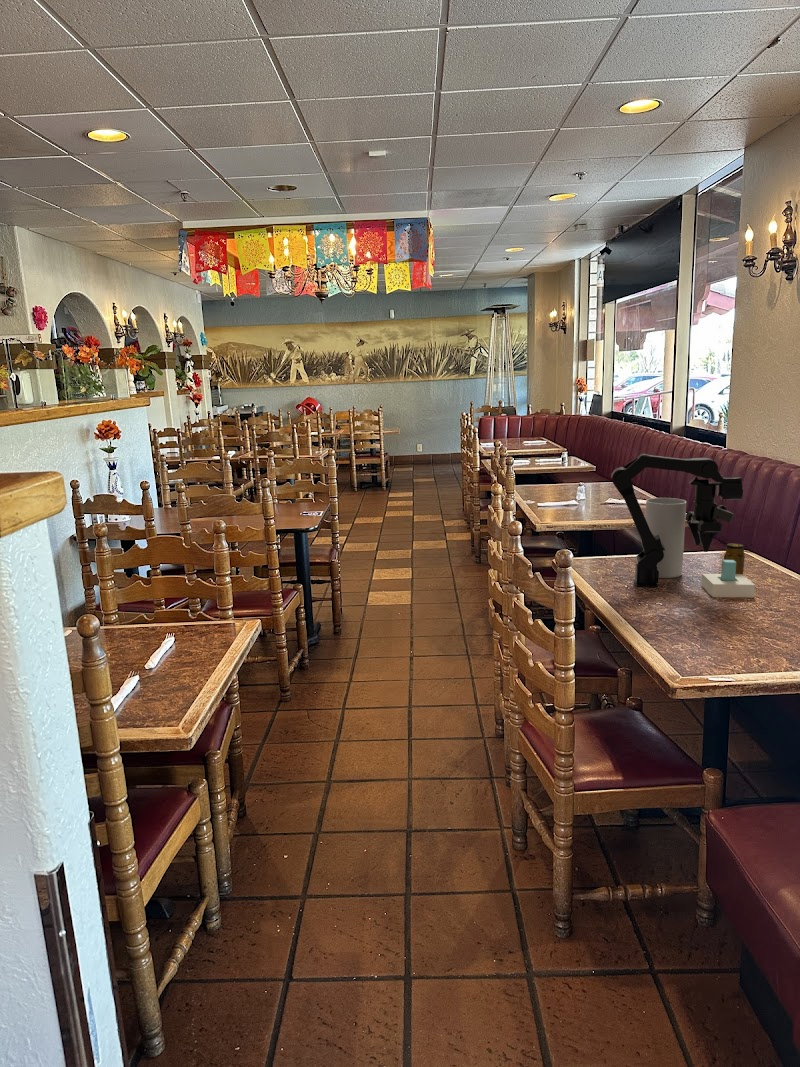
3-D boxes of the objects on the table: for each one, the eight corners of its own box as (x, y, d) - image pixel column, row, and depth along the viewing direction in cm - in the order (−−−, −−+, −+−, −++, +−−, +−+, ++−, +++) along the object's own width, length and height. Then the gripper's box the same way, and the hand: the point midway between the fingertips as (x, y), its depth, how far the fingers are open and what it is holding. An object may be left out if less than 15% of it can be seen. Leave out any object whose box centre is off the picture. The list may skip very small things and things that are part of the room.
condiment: (727, 576, 243) (730, 541, 240) (753, 581, 236) (756, 545, 234) (716, 580, 238) (719, 544, 236) (742, 586, 232) (745, 549, 229)
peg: (723, 590, 225) (725, 562, 223) (720, 587, 228) (722, 559, 226) (734, 590, 224) (736, 562, 222) (731, 587, 227) (733, 559, 226)
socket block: (712, 596, 221) (713, 584, 220) (701, 585, 233) (702, 573, 232) (754, 597, 220) (755, 584, 219) (741, 586, 231) (741, 574, 231)
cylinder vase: (677, 569, 253) (681, 497, 247) (685, 579, 241) (690, 504, 235) (639, 568, 255) (643, 497, 249) (646, 578, 242) (650, 504, 237)
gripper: (742, 504, 216) (738, 555, 219) (722, 494, 234) (719, 541, 237) (702, 504, 217) (699, 555, 221) (686, 494, 236) (683, 541, 239)
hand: (701, 548), depth 229 cm, fingers open, 9 cm apart
